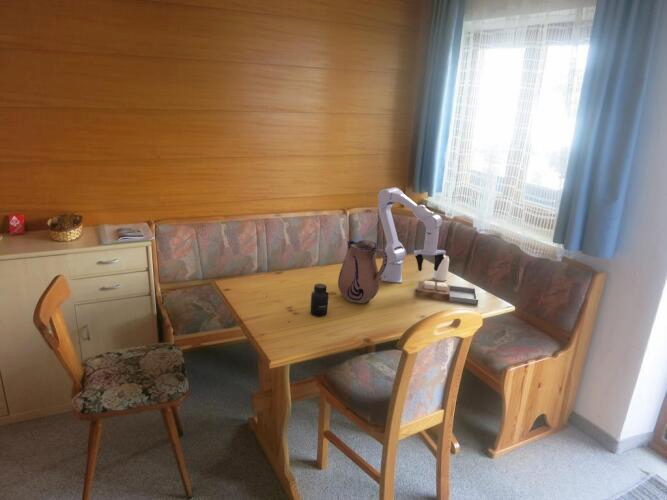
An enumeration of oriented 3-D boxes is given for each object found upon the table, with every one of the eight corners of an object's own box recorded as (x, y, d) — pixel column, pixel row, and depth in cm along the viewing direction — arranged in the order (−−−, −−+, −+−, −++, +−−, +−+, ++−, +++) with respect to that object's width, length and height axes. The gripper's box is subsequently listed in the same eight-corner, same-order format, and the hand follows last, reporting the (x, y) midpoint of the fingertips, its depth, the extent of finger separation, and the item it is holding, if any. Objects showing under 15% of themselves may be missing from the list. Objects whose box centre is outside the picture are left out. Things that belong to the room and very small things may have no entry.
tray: (449, 301, 211) (449, 296, 210) (448, 290, 224) (449, 285, 223) (477, 305, 209) (478, 299, 208) (475, 293, 222) (476, 288, 221)
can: (447, 281, 235) (450, 258, 231) (434, 280, 235) (437, 257, 231) (445, 276, 241) (448, 254, 237) (432, 276, 241) (434, 253, 238)
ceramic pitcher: (347, 288, 219) (350, 235, 212) (391, 298, 211) (396, 243, 203) (330, 301, 204) (333, 245, 197) (376, 313, 196) (381, 254, 188)
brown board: (416, 296, 215) (417, 290, 214) (418, 287, 226) (418, 281, 225) (449, 300, 212) (449, 294, 211) (448, 290, 223) (449, 284, 222)
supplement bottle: (321, 319, 188) (322, 290, 184) (306, 314, 191) (308, 286, 188) (330, 313, 193) (332, 285, 190) (316, 308, 197) (317, 281, 193)
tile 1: (424, 288, 217) (424, 283, 216) (424, 284, 221) (424, 280, 220) (434, 289, 216) (434, 285, 215) (434, 285, 220) (434, 281, 219)
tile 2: (436, 289, 216) (437, 285, 215) (436, 286, 220) (437, 282, 219) (446, 290, 215) (447, 286, 214) (446, 287, 219) (447, 283, 218)
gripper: (419, 244, 211) (415, 273, 215) (450, 244, 214) (446, 273, 218) (413, 239, 217) (410, 268, 222) (443, 239, 220) (439, 267, 225)
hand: (427, 270), depth 220 cm, fingers open, 7 cm apart
